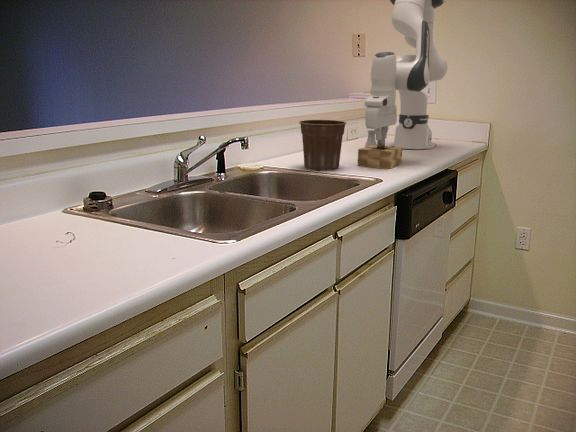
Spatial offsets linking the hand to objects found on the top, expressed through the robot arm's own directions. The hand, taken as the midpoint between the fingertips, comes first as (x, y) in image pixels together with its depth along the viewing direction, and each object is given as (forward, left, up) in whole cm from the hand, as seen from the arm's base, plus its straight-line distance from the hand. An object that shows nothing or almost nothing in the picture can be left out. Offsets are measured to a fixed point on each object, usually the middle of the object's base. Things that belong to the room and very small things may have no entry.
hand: (381, 139), depth 203 cm
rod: (0, 0, -7) cm, 7 cm away
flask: (-19, -12, -10) cm, 24 cm away
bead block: (0, 0, -9) cm, 9 cm away
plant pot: (+16, -15, -9) cm, 24 cm away
